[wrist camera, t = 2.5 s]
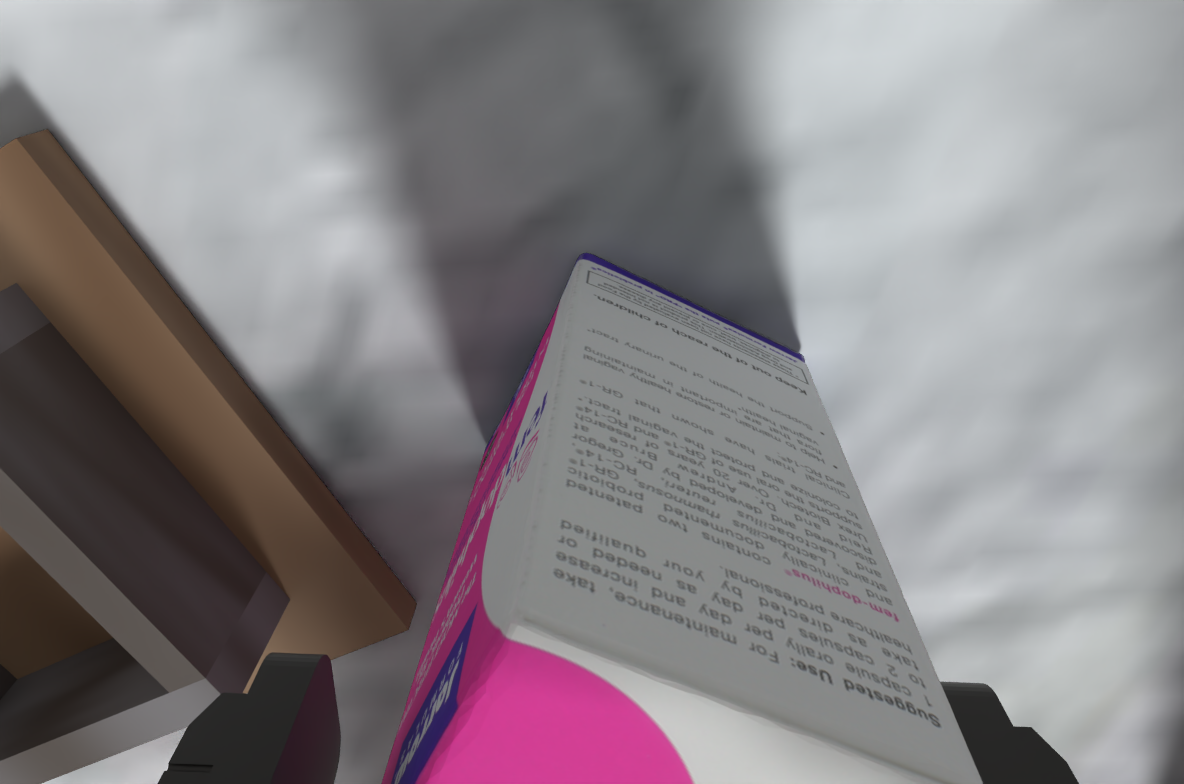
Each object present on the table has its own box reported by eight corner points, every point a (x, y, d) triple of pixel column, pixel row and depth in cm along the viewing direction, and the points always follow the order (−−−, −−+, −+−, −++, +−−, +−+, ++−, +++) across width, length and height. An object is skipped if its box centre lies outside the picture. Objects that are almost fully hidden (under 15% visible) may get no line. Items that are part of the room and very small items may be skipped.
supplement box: (571, 240, 18) (514, 611, 8) (807, 352, 19) (1033, 807, 9) (472, 448, 20) (328, 937, 10) (685, 536, 21) (750, 1058, 11)
